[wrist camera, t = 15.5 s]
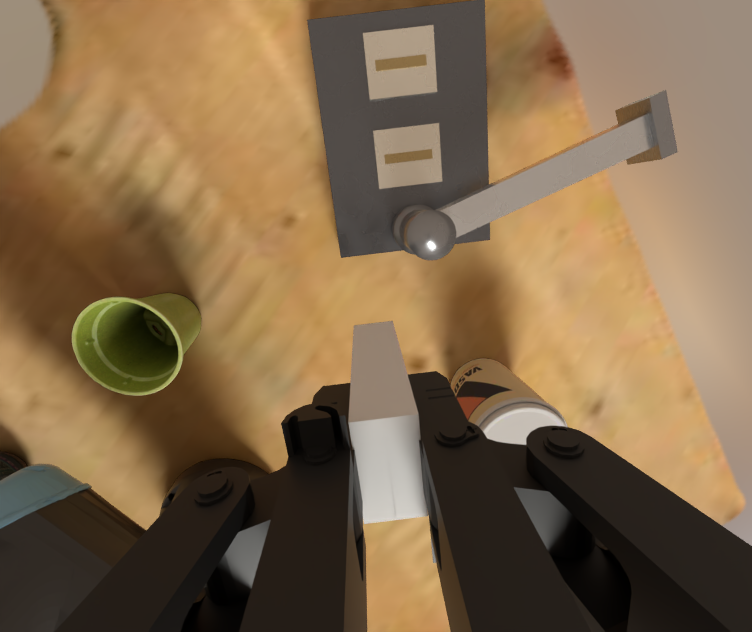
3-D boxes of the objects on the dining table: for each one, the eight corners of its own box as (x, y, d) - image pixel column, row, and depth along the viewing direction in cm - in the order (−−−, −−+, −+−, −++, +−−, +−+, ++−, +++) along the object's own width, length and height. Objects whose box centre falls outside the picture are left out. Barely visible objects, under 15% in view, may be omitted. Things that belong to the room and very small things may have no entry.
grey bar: (410, 261, 33) (420, 272, 27) (391, 215, 32) (397, 218, 26) (631, 159, 31) (691, 149, 26) (619, 107, 30) (680, 84, 24)
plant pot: (235, 329, 41) (203, 360, 33) (172, 373, 42) (126, 413, 34) (177, 261, 39) (127, 275, 30) (112, 309, 40) (47, 336, 32)
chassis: (342, 255, 39) (339, 264, 33) (311, 36, 33) (301, 0, 28) (480, 239, 39) (501, 244, 34) (473, 17, 33) (497, -23, 28)
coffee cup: (465, 339, 43) (504, 388, 31) (532, 368, 44) (593, 425, 33) (429, 404, 45) (453, 472, 33) (494, 430, 46) (538, 503, 35)
